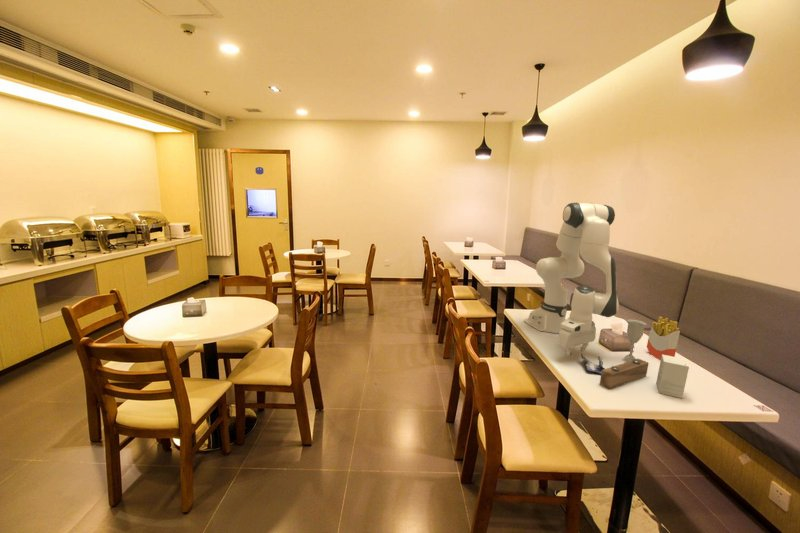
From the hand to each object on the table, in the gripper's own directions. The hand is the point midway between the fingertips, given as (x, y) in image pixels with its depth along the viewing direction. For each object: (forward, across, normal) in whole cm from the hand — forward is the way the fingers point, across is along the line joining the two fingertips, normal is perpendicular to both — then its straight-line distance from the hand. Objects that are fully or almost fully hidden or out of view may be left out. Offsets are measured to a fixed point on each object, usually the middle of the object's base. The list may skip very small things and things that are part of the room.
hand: (575, 353), depth 157 cm
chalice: (+2, -20, +12) cm, 24 cm away
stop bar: (+2, 0, +21) cm, 21 cm away
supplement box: (+2, -8, +33) cm, 34 cm away
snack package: (+3, +2, +10) cm, 11 cm away
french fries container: (+2, -38, +15) cm, 41 cm away
